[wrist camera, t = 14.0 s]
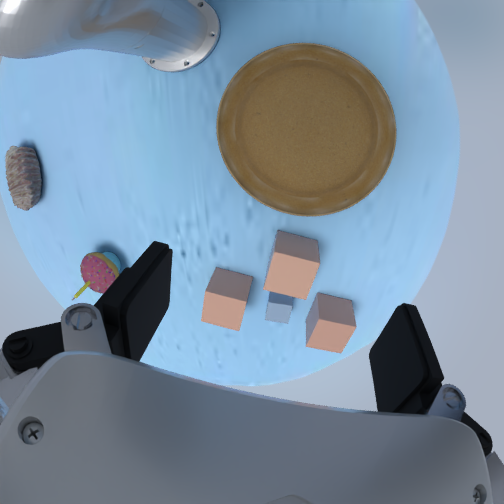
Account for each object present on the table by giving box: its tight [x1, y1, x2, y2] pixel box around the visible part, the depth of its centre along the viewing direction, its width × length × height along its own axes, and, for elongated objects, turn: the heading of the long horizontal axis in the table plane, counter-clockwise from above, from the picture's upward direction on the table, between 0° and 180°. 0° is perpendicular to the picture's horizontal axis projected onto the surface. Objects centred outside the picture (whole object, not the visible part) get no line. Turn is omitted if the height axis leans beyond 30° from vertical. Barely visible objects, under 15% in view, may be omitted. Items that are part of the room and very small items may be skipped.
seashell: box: [5, 146, 42, 210], centre depth 45 cm, size 14×9×10 cm
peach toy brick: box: [201, 267, 253, 331], centre depth 50 cm, size 6×6×7 cm
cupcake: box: [72, 252, 121, 300], centre depth 49 cm, size 9×8×12 cm
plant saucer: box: [217, 43, 396, 216], centre depth 37 cm, size 24×24×3 cm
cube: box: [265, 291, 293, 324], centre depth 51 cm, size 4×4×4 cm
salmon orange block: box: [306, 293, 356, 353], centre depth 49 cm, size 6×6×7 cm
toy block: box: [263, 230, 320, 300], centre depth 45 cm, size 6×6×7 cm
